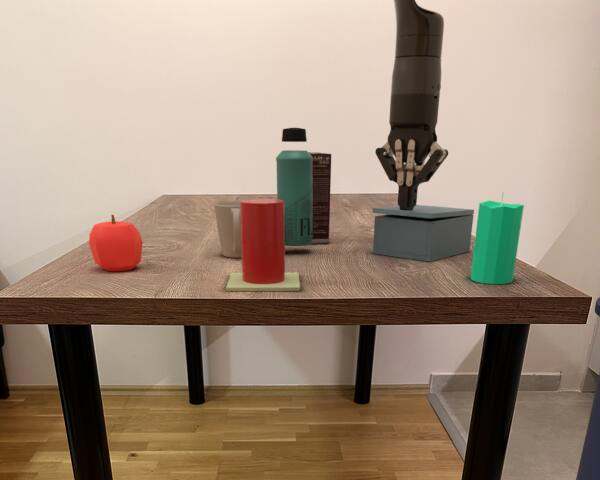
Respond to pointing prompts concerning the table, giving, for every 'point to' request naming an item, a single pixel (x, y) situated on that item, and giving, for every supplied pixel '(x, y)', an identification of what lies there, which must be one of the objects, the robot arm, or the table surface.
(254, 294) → the table surface
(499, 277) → the candle
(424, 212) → the lid
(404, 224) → the chest
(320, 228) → the supplement box
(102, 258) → the apple
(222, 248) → the cup
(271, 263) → the red cylinder
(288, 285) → the mat
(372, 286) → the table surface
